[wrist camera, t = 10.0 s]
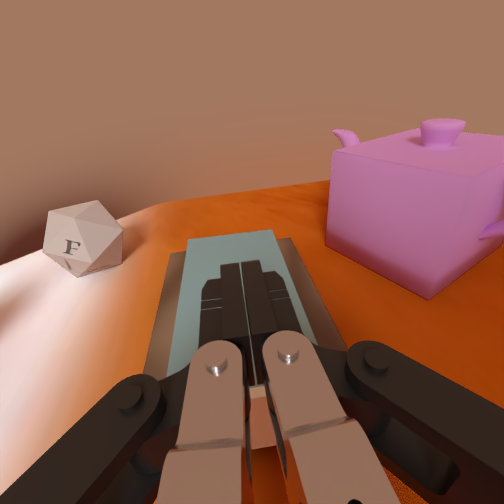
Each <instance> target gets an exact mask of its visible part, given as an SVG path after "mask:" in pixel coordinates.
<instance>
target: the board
mask: <svg viewBox="0 0 504 504" xmlns="http://www.w3.org/2000/svg"><path fill="white" fill-rule="evenodd" d="M276 241H277V243H278V246H279V248H280V251H281V253H282V256H283V259H284V261H285V264H286V266H287V269H288V271H289V274H290V276H291V279H292V281H293V284H294V286H295V289H296V291H297V294H298V296H299V299H300V301H301V304H302V306H303V309H304V311H305V314H306V316H307V319H308V321H309V324H310V327H311V329H312V332H313V334H314V337H315V339H316V342H317V344H318V346H320V347H323V348H326V349H332V350H339V351H347V352H348V349H347V347H346V345H345V343H344V341H343V339H342V337H341V335H340V334H339V332H338V330H337V328H336V326H335V324H334V322H333V320H332V318H331V316H330V314H329V312H328V310H327V308H326V306H325V304H324V302H323V300H322V298H321V296H320V294H319V293H318V291H317V289H316V287H315V285H314V283H313V281H312V279H311V277H310V275H309V273H308V271H307V269H306V267H305V265H304V263H303V261H302V259H301V257H300V255H299V254H298V252H297V250H296V248H295V246H294V244H293V242H292V240H291V238H284V239H276ZM185 257H186V251H184V252H176V253H171V254H170V259H169V263H168V267H167V272H166V276H165V280H164V285H163V289H162V293H161V297H160V302H159V306H158V310H157V315H156V319H155V323H154V328H153V332H152V336H151V341H150V345H149V349H148V353H147V358H146V362H145V366H144V371H143V374H147V375H150V376H152V377H154V378H155V379H156V380H157V381H159V380H161V379H164V378H166V376H167V370H168V364H169V357H170V351H171V345H172V338H173V332H174V326H175V320H176V313H177V307H178V301H179V294H180V288H181V282H182V275H183V269H184V263H185Z"/></svg>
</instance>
